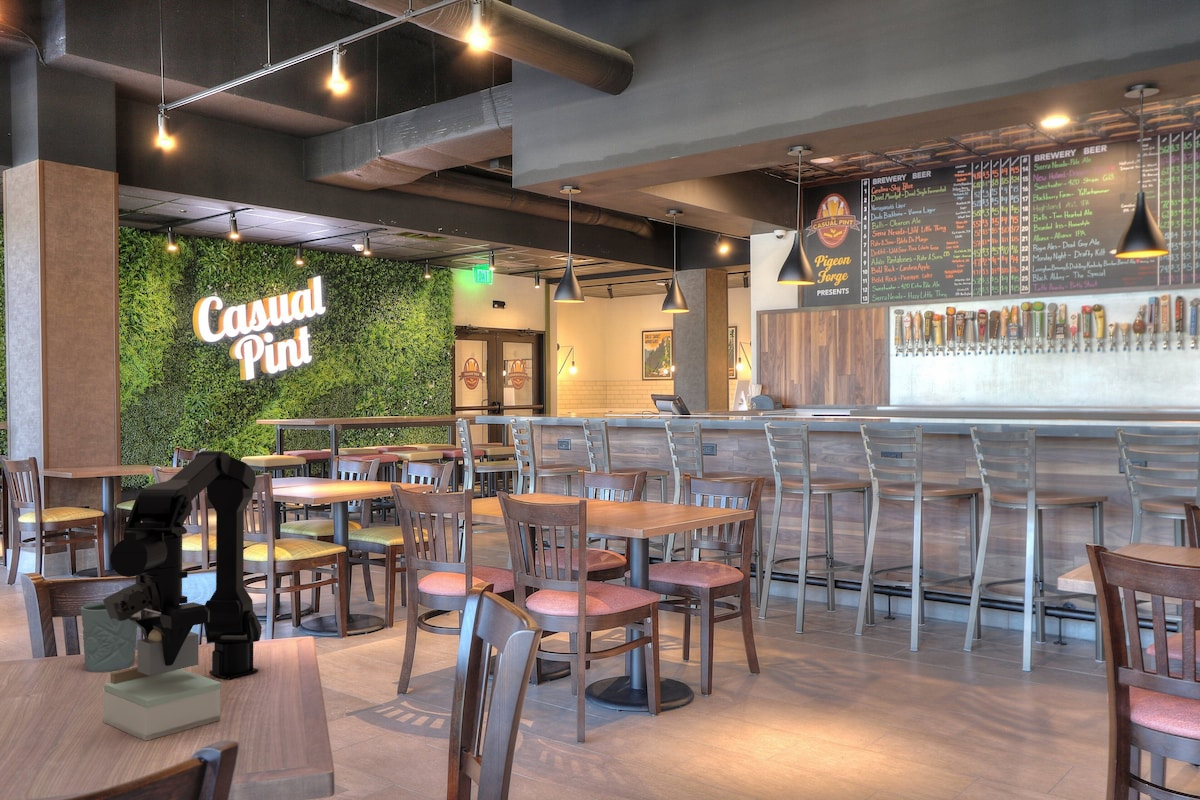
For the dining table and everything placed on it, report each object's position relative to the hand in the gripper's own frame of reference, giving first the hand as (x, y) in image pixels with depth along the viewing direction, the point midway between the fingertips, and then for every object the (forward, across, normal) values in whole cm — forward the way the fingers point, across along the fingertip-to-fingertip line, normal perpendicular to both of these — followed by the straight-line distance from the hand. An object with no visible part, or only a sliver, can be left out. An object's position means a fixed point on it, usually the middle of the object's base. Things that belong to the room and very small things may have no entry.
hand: (162, 663), depth 149 cm
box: (+9, 0, 0) cm, 9 cm away
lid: (+4, 0, 0) cm, 4 cm away
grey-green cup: (+10, -40, +10) cm, 42 cm away
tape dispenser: (+1, 0, +1) cm, 1 cm away
